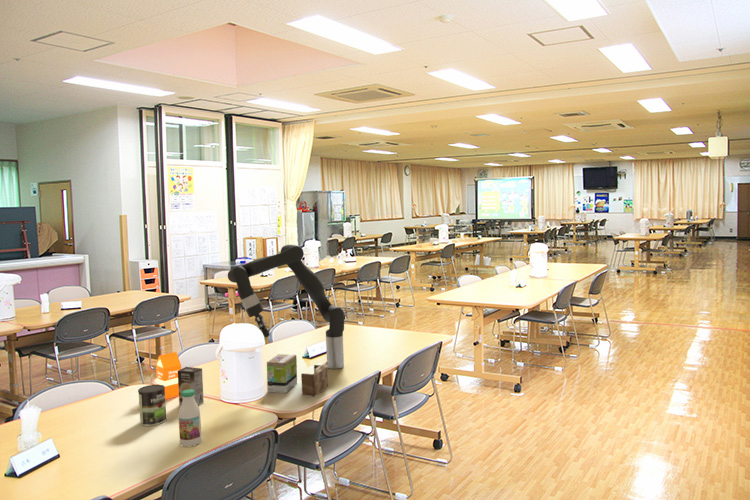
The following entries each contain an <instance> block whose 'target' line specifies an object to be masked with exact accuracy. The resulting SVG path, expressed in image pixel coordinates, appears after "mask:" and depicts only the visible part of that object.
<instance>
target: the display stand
mask: <svg viewBox="0 0 750 500" xmlns="http://www.w3.org/2000/svg"><path fill="white" fill-rule="evenodd" d="M327 366H328V361H327V360H326V361H325V362H324V363H322V364H314V365H313V370H314V371H313V373H301V375H300V376H301V395H302V396H306V397H316V396H317V395H319V393H321V392H322V391H324V390H325V389H326V388H327V387H328V386H329V377H328V376H329V374H328V372H329V371H328V368H327Z"/></svg>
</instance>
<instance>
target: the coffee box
mask: <svg viewBox="0 0 750 500" xmlns="http://www.w3.org/2000/svg"><path fill="white" fill-rule="evenodd" d="M203 379H204V378H203V368H201V367H200V368H199V367H193V366H192V367H191V366H185V367H183V368H181V369H180V370H178V388H179V395H178V403H179V404H178V405H179V406H181V405H182V401H183V398H182V391H184V390H188V389H193V390H194V391H195V396H194V398H195V401H196V403H197V405H199V406H201V405H202V404H204V403H203V402H205V401H204V382H203ZM201 403H202V404H201Z"/></svg>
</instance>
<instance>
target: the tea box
mask: <svg viewBox="0 0 750 500" xmlns="http://www.w3.org/2000/svg"><path fill="white" fill-rule="evenodd" d="M297 362H298V361H297V354H285V353H283V354H280V353H279V354H276V355H275V356H274V357H272V358H271V359H270V360H268V361H266V382H267V384H266V387H267V390H266V391H267V393H279V394H281V393H282V394H286V393H288V391H290V390H291V389H292V388H293V387H294V386H296V385H297V384H298V369H297V368H298V367H297V366H298V365H297Z"/></svg>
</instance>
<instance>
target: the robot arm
mask: <svg viewBox="0 0 750 500" xmlns="http://www.w3.org/2000/svg"><path fill="white" fill-rule="evenodd" d="M304 254H305V253H304V249H303V248H302V246H300V245H298V244H285V245H283V246H281V249H280V252H279V253H276V254H273V255H268V256H264V257H260V258H256V259H253V260H252V261H249V262H247V263H246V264H242V265H237V266H234V267H233V268H231V269H230V270H229V271H228V273H227V279H228V281H229V282H232V283H235V284H236V287H237V290H236V292H237V294H238V296H239V298H240V300H241V303H242V306H243V307H244V309H245V312H246V314H247V316H248V317H249V318H252V317H254V322H255V323H256V325H257V326H258V328H259V330H260V331H261V332H262V335H263V336H264V338H268V337H269V336H270V332H269V330H268V327H267V324H266V321H265V319H264V316H263V315H262V314H260V313H262V312H263V311H264V308H263V306H262V303H261V302H260V300H259V298H258V296H257V294H256V293H255V291H254V289H253V287H252V285H251V281H250V277H251V278H252V277H253V276H257V275H260V274H263V273H265V272H268V271H269V270H270V271H271V270H273V269H275V268H278V267H281V266H285V265H287V267H289V269H290V270H291V271H292V273H293V274H294V275H295V277H296V279H297V280H298V281H299V283H300V284H301V286H302V287H303V289H304V290H305V292H306V293H307V295H308V296H309V297H310V299H311V300H312V302H313V303H314V304H315V306H316V308H317V309H318V312H319V314H320V315H321V316H322V318H323V320H324V321H326V322H327V323H329V329H326V331H325V344H326V349H325V350H326V361H328V366H327V369H330V370H331V369H332V370H338V369H343V368H344V366H345V359H344V357H345V355H344V354H345V353H344V330H345V311H344V310H343V308H342V307H338V306H336V305H335V306H334V305H333V304H332V303H331V302H330V300H329V299H328V298H327V295H326V292H325V287H324V285H323V283H322V281H321V280H320V278H319V277H318V275H317V274H316V273H315V272H313V271H312V270H311V269H310V268H309V267H308V266H307V265H306V264H305V263H304V262H303V261H302V259H303V258H304Z"/></svg>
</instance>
